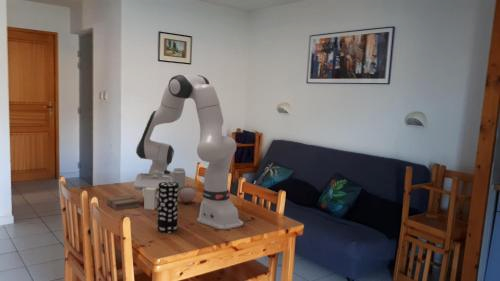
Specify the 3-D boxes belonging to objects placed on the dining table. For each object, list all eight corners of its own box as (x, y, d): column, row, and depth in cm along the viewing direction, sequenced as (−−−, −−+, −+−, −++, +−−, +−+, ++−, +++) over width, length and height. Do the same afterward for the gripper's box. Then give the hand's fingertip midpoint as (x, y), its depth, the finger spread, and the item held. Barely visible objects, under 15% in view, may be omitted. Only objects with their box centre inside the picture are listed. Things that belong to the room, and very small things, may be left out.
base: (139, 206, 203) (139, 201, 203) (116, 210, 195) (116, 204, 195) (129, 201, 212) (129, 195, 212) (107, 204, 204) (107, 198, 204)
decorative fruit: (180, 206, 208) (181, 187, 207) (176, 201, 215) (177, 183, 214) (198, 204, 212) (198, 186, 211) (193, 200, 219) (194, 182, 218)
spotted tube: (159, 233, 168) (160, 186, 165) (155, 227, 175) (156, 182, 173) (179, 232, 171) (180, 186, 168) (174, 225, 178) (176, 181, 176)
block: (157, 206, 205) (157, 187, 203) (153, 209, 200) (154, 189, 198) (147, 206, 205) (147, 186, 204) (144, 208, 200) (144, 189, 199)
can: (182, 190, 240) (182, 170, 238) (170, 189, 241) (170, 169, 240) (186, 187, 247) (187, 168, 246) (175, 186, 249) (175, 167, 247)
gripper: (136, 169, 208) (128, 192, 199) (175, 172, 206) (169, 195, 198) (139, 176, 213) (131, 199, 204) (177, 179, 211) (171, 202, 203)
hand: (150, 197), depth 201 cm, fingers closed on block, 5 cm apart
